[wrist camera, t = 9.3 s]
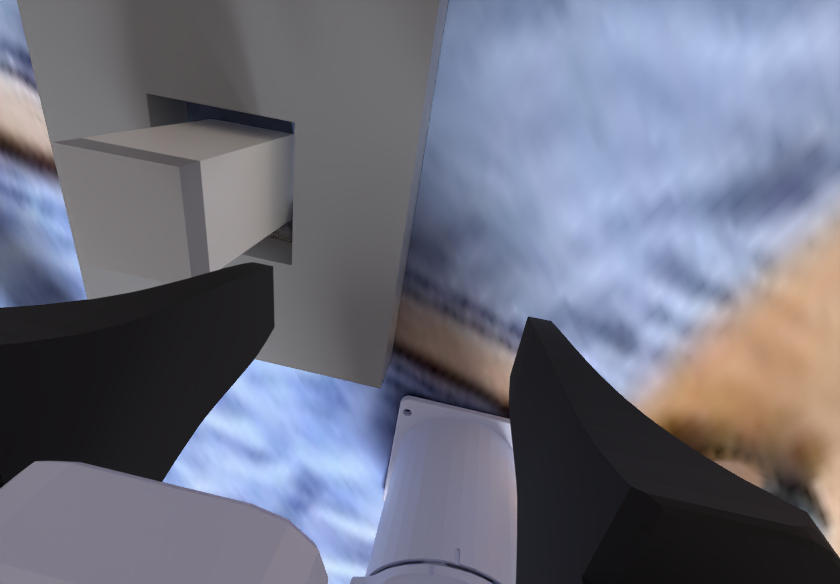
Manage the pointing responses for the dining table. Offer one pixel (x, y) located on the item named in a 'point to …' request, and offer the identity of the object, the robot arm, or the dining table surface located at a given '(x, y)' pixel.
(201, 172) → the plug
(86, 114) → the socket
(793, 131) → the dining table surface
